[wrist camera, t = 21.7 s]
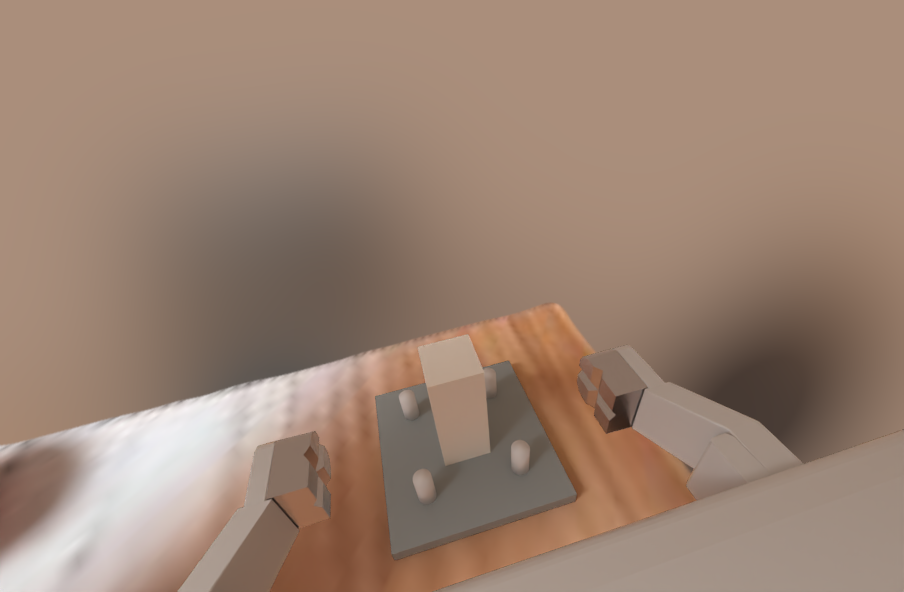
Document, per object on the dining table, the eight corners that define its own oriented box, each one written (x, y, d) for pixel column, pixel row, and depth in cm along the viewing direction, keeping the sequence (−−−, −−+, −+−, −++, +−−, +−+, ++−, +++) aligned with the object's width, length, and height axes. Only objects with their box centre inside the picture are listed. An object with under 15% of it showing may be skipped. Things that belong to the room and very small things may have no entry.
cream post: (445, 466, 39) (427, 387, 31) (435, 425, 43) (417, 347, 35) (490, 452, 40) (484, 372, 32) (476, 413, 44) (468, 334, 36)
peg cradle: (394, 560, 34) (383, 539, 31) (377, 403, 48) (368, 378, 45) (575, 501, 36) (580, 476, 33) (508, 368, 51) (508, 341, 47)
